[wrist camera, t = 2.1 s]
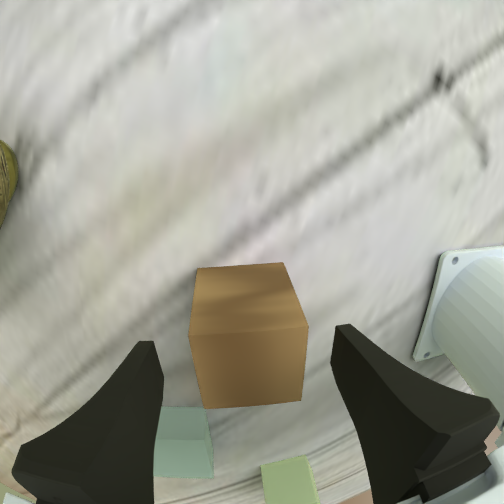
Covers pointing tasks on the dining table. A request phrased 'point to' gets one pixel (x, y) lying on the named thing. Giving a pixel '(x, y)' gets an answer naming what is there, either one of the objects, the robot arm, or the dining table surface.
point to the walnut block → (247, 336)
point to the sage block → (289, 482)
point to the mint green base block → (183, 444)
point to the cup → (7, 177)
